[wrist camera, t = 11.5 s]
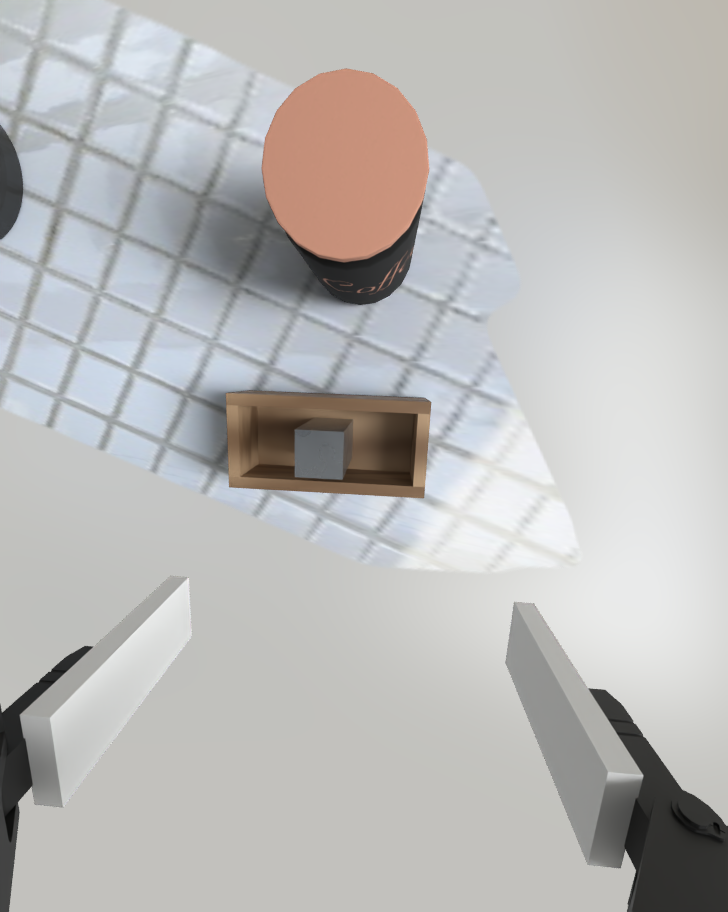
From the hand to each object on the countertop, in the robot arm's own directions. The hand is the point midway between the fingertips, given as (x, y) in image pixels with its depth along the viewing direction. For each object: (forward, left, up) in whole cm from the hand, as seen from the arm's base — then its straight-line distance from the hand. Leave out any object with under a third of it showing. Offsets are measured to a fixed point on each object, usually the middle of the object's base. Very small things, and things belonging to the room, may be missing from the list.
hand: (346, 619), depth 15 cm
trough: (-2, -5, -31) cm, 32 cm away
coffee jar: (-22, -2, -32) cm, 39 cm away
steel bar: (-2, -5, -31) cm, 31 cm away
